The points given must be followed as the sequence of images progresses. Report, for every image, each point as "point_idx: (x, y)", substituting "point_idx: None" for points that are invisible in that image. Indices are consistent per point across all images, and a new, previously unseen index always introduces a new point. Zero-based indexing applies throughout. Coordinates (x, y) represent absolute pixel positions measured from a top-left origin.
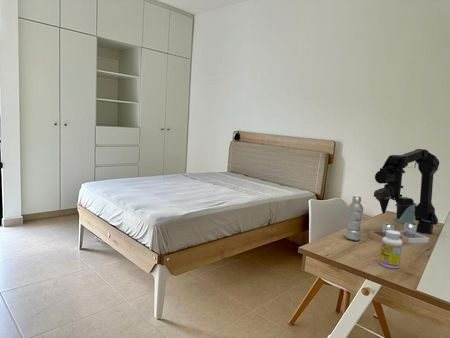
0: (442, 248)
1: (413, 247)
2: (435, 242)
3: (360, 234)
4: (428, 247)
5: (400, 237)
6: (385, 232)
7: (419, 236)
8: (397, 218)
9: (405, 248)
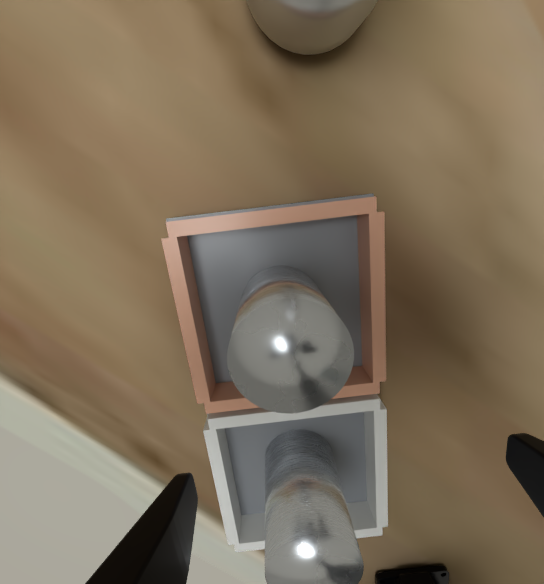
0: None
1: (174, 399)
2: None
3: (265, 12)
4: None
5: None
6: (258, 286)
7: None
8: (178, 475)
9: (147, 339)
